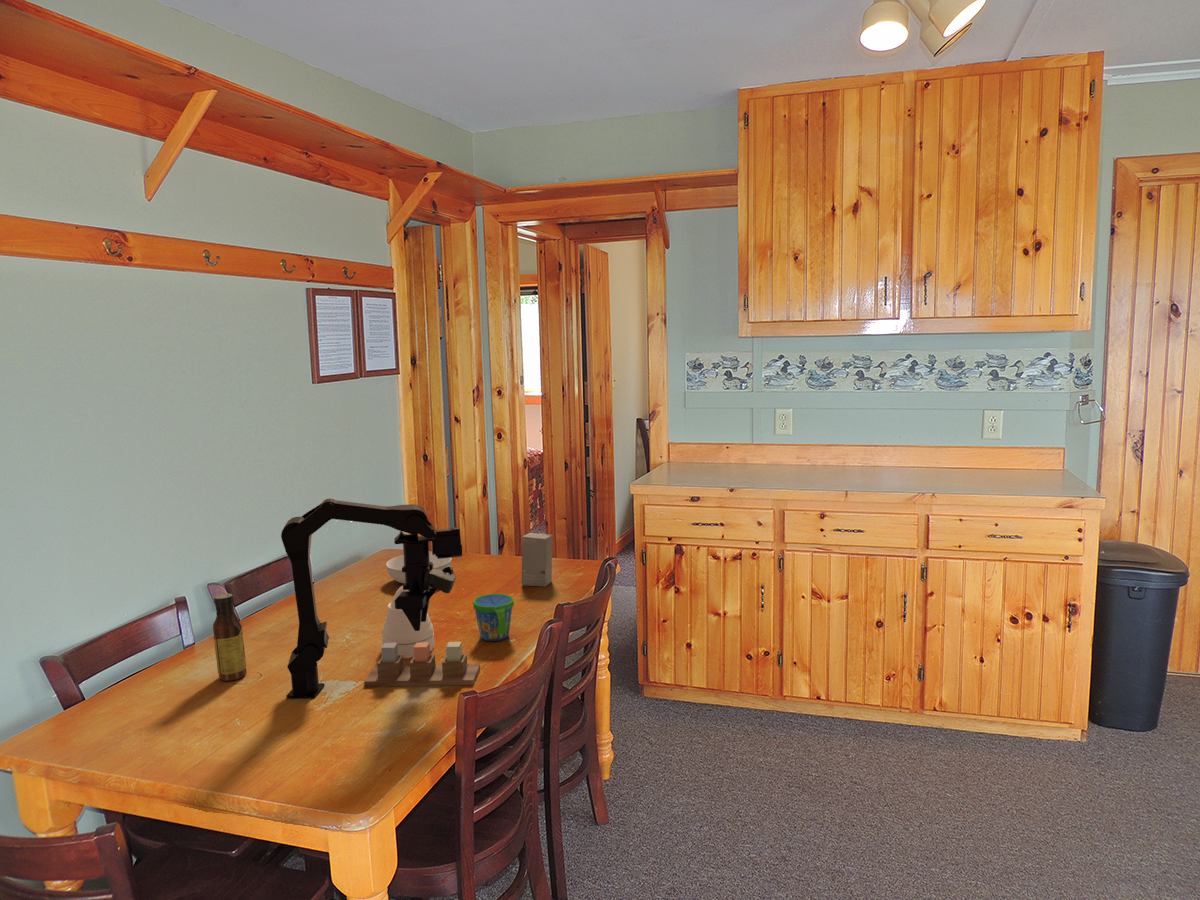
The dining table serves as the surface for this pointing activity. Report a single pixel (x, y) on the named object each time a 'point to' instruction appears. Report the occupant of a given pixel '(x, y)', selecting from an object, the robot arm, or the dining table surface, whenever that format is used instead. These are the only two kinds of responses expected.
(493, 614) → the snack cup
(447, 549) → the robot arm
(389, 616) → the honey pot
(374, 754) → the dining table surface
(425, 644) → the orange rectangular block
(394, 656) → the grey chamfered block
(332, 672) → the dining table surface
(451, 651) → the beige rectangular block
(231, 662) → the sauce bottle
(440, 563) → the serving bowl
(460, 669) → the brown block rack
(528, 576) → the skincare box
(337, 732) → the dining table surface
